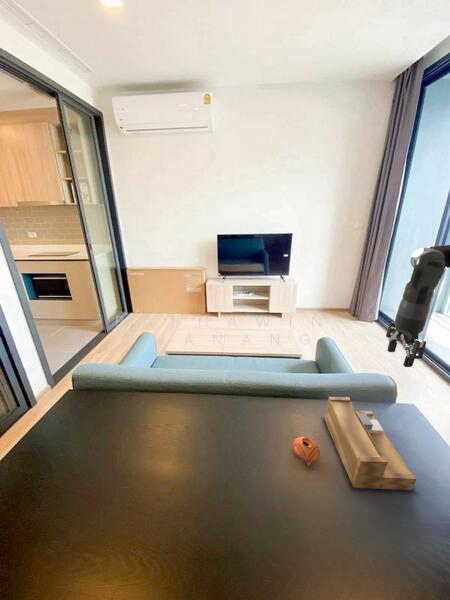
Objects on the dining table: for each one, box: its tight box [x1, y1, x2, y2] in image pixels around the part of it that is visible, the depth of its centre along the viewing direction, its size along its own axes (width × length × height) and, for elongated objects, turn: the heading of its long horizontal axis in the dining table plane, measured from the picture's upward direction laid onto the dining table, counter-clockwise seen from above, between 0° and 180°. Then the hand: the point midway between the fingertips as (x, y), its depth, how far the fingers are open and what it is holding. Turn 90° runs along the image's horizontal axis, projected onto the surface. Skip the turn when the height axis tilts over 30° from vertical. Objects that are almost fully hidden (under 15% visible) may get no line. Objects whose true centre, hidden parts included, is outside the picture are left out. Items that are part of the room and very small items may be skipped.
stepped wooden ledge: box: [323, 396, 417, 491], centre depth 77 cm, size 16×23×11 cm
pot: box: [292, 436, 321, 467], centre depth 75 cm, size 8×8×7 cm
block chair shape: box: [358, 414, 385, 433], centre depth 81 cm, size 8×4×4 cm, turn 88°
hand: (398, 358), depth 81 cm, fingers open, 8 cm apart
